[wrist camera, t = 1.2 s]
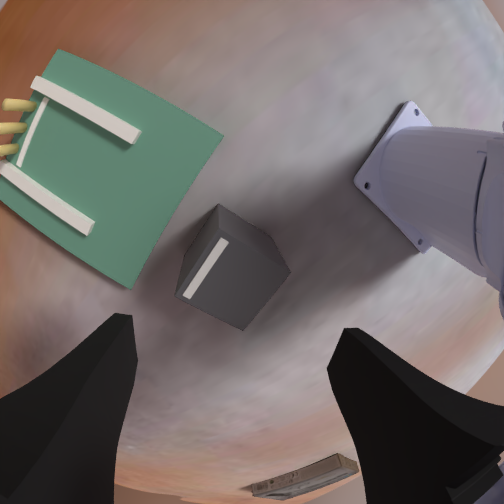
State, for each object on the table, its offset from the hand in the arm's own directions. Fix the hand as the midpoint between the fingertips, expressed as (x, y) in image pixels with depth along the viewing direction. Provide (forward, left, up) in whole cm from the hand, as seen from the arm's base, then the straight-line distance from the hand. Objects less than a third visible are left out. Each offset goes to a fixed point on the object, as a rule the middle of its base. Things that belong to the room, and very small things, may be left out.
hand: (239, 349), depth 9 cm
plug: (0, 0, -10) cm, 10 cm away
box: (-35, +30, -10) cm, 47 cm away
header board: (+10, 0, -9) cm, 14 cm away
